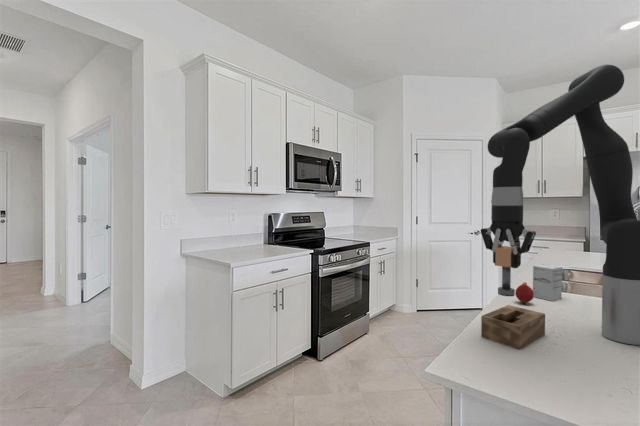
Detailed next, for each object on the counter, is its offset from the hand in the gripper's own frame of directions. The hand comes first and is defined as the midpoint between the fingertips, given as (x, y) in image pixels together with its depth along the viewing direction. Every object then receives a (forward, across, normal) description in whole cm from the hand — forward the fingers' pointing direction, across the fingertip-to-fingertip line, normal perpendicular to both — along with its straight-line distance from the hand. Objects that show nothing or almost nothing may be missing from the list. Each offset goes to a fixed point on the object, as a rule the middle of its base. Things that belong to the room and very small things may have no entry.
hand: (506, 266), depth 90 cm
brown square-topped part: (+8, 0, 0) cm, 8 cm away
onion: (+21, +11, -38) cm, 45 cm away
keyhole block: (+20, 0, -4) cm, 21 cm away
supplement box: (+21, +9, -53) cm, 58 cm away
